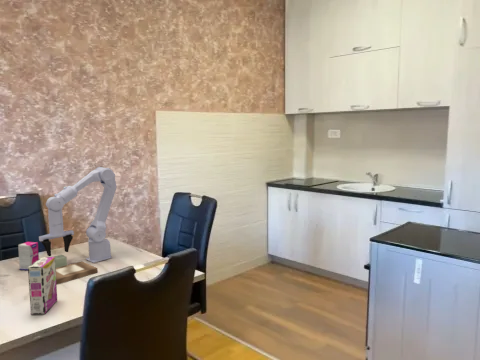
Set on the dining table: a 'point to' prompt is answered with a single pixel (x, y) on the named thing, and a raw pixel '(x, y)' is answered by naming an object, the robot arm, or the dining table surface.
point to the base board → (74, 271)
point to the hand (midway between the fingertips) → (58, 253)
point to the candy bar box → (42, 285)
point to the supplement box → (28, 254)
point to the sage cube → (60, 261)
